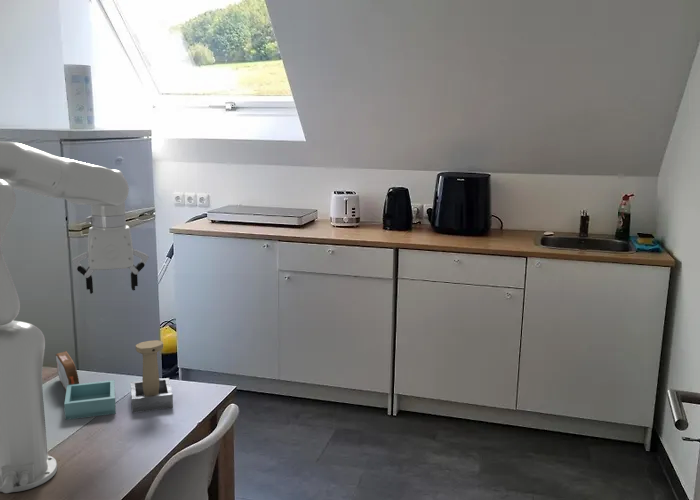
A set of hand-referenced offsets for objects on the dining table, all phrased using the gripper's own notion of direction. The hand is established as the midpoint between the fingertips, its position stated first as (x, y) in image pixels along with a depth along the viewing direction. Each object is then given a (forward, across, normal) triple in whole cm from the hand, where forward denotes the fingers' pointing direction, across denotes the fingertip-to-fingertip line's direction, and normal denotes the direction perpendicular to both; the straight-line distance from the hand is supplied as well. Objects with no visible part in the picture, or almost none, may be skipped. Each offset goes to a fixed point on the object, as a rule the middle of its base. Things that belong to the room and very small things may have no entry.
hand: (112, 290), depth 158 cm
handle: (+28, +8, -6) cm, 29 cm away
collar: (+28, +8, -6) cm, 29 cm away
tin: (+28, -12, +10) cm, 32 cm away
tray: (+28, -6, -4) cm, 29 cm away
